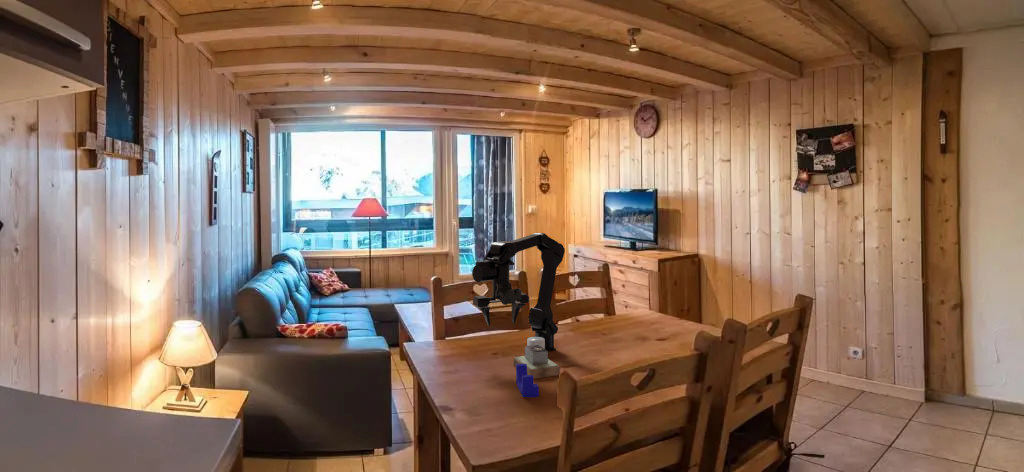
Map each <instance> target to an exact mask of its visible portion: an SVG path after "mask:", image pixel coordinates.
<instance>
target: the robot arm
mask: <svg viewBox="0 0 1024 472" xmlns="http://www.w3.org/2000/svg"><path fill="white" fill-rule="evenodd" d="M533 247H534V248H535V247H536V249H538V250H539V251H540V254H541V255H540V260H541V263H542V264H543V266H542V267H543V268H542V273H541V278H540V279H541V280H540V284H539V290H538V294H537V295H538V296H537V302H536V304H535V306H534V307H529V315H528V318H527V319H529V320H528V323H529V325H530V327H531V331H532V332H534V336H533V337H542V338H544V339H545V350H546V351H548V352H549V351H555V350H557V348H556V347H555V334H558V330H559V327H558V326H557V324H556V323H555V321H554V319H553V318H554V314H553V310H552V308H551V305H552V297H553V292H554V286H555V281H556V276H557V275H556V274H557V268H558V267H560V264H561V263H562V262H563V259H564V256H565V251H566V249H565V247H564V245H563V244H562V243H560V242H559V241H557V240H555V239H553V238H552V237H550V236H549V235H547V234H546V233H545V232H534V233H533V234H529V235H526V236H523V237H519V238H517V239H513V240H509V241H508V240H505V241H502V240H501V241H494V242H491V244H490V247H489V250H488V251H487V253H486V255H485V257H484V259H483V260H482V261H481V260H478V261H475V265H474V266H473V268H472V271H471V276H472V278H473V280H474V282H476V283H483V282H489V281H491V285H492V293H491V297H489V296H486V295H475V296H473V298H472V305H474V306H476V308H479V310H480V311H481V313H482V314H483V317H484V320H485V322H486V324H487V326H488V327H490V325H491V317H490V316H491V315H490V310H491V307H490V304H495V303H496V304H497V303H501V304H502V305H504V306H507V305H511V322H512V324H516V321H517V318H518V314H519V312H520V310H521V308H523V306H526V304H529V303H530V296H529V295H528V294H527V293H524V292H522V289H521V288H520V287H518V288H512V283H511V282H510V266H514V265H515V262H514V261H512V258H513V257H515V256H516V255H517V253H519V252H522V251H525V250H528V249H531V248H533Z"/></svg>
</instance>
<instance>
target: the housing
mask: <svg viewBox="0 0 1024 472" xmlns="http://www.w3.org/2000/svg"><path fill="white" fill-rule="evenodd" d="M548 354H549V351H546V350H545V349H544V348H543V347H541V346H540V345H532V346H527V345H525V346H524V356H525V359H527V360H528V361H529V362H530V363H531V364H532V365H542V364H548V359H549V357H548Z"/></svg>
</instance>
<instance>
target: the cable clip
mask: <svg viewBox="0 0 1024 472" xmlns="http://www.w3.org/2000/svg"><path fill="white" fill-rule="evenodd" d="M515 380H516V381H515V384H516V386H517V389H518V390H519V392H520V394H522V395H521V396H523V397H528V398H539V397H540V393H539V392H540V391H539V389H540V386H539V385H538V383H534V379H533V375H527V365H526V364H516V367H515ZM538 396H539V397H538ZM523 397H522V398H523Z"/></svg>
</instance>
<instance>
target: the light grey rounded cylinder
mask: <svg viewBox="0 0 1024 472" xmlns="http://www.w3.org/2000/svg"><path fill="white" fill-rule="evenodd" d="M526 341H527V344H526V346H532V345H540V346H541V347H543V348H544V349H545V339H544V338H542V337H534V336H531V337H528V338H527V340H526Z"/></svg>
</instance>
